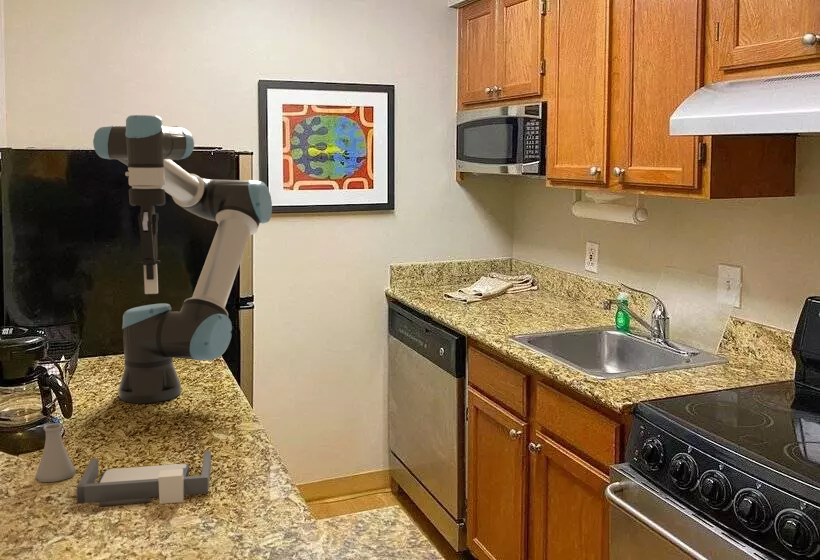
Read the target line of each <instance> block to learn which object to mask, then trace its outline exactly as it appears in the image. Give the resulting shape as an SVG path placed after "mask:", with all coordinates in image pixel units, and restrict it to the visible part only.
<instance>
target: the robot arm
mask: <svg viewBox="0 0 820 560" xmlns="http://www.w3.org/2000/svg"><path fill="white" fill-rule="evenodd" d="M93 135H94V137H93V140H92V141H93V142H92V143H93V144H92V145H93V149H94V151H95V153H96V155H98V157H99V158H101V159H106V160H109V161H110V160H111V161H112V160H118V161H119V162H121V163H122V164H124V165H125V166H127V170H128V171H125V174H124V175H125V176H126V177H128V185H129V187H130V188H129V189H128V197H129V198H128V200H129V201H128V202H129V205H130V206H133V207H140V213H139V214H137V221H138V227H139V235H140V238H139V239H140V247H141V262H139V265H140V266H143V282H144V284H143V285H144V294H145V295H156V294H159V280H158V279H159V277H158V276H159V275H158V264H161V260H160V259H159V260H158V258H159V255H158V231H159V229H158V227H159V226H158V221H159V213H158V212H156V207H157V206H159V207H160V206H164V205H165V204H166V193H167V194H168V195H169V196H171V198H172V200H173V201H174V203H175V204H176V205H178V206H179V207H180V208H182V209H183V210H185V211H187V212H189V213H191V214H193V215H195V216H197V217H199V218H202V219H204V220H205V219H206V220H208V221H212V222H216V223H217V224H218V226H217V229H216V231H215V234H214V236H213V240H212V242H211V245H210V247H209V250H208V253H207V255H206V258H205V262H204V265H203V267H202V270H201V272H200V275H199V277H198V279H197V282H196V283H197V284H196V286H195V288H194V291H193V294H192V295H191V296H192V297H189V298H186V299H185V300H184V301H183V303H182V306H181V308H180V310H179V311H175V310H174V311H172V307H171V304H169V303H154V304H146V305H141V306H136V307H132V308H130V309H127V310H126V311H124V313H123V315H122V327H121V329H122V335H123V338H122V339H123V354H124V356H123V358H124V370H123V373H122V376H121V380H120V383H119V387H118V396H119V397H118V398H119V399H120V400H121V401H123V402H126V403H131V404H152V403H153V404H155V403H159V402H160V403H161V402H165V401H168V400H171V399H175V398H177V397H179V396H180V395H181V393H182V386H181V385H182V383H181V381H180V378H179V375H178V373H177V371H176V368H175V366H174V360H173V358H174V359H185V360H194V361H198V362H200V361H214V360H216V359H218V358H221V356H222V355H223V354H224V353H225V352H226V350H227V349H228V347H229V345H230V342H231V339H232V330H233V325H232V324H233V323H232V321H231V319H230V318H229V312H228V310H227V309H226V305H227V303H228V301H229V300H228V299H229V297H230V294H231V291H232V288H233V285H234V281H235V279H236V276H237V273H238V270H239V267H240V265H241V262H242V259H243V256H244V253H245V249H246V246H247V244H248V241H249V238H250V236H252V235H254V234H256V233H257V231H258V228H259V227H260V224H266V223H268V222H270V220H271V217H272V212H273V203H272V202H273V201H272V196H271V192H270V189H269V188H268V186H267V184H266V183H265V182H263V181H260V180H252V179H248V180H243V179H242V180H241V179H240V180H239V179H212V178H211V179H209V178H204V177H200V176H199V175H197V174H196V173H189V172H188V171H186V169H183V168H182V167H181V166H180V165H178V164H177V163H176V162H174V161H180V160H184V159H186V158H189V156H191V154H192V153H193V152H194V149H195V140H194V138H193V137H194V136H193V135H192V133H191V132H190V131H189V130H187V129H186V128H184V127H179V126H177V125H175V126H170V125H169V126H166V125H165V126H164V124H163V120H162V118H161V117H160V116H159V115H150V114H149V115H146V114H145V115H144V114H142V115H141V114H137V115H135V114H132V115H129V116H127V117H126V119H125V125H124V126H123V125H122V126H121V125H120V126H119V125H118V126H117V125H111V126H101V127H99V128H97V130H96V131H95V132H94V134H93Z"/></svg>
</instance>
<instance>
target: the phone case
mask: <svg viewBox="0 0 820 560" xmlns="http://www.w3.org/2000/svg"><path fill="white" fill-rule="evenodd" d="M175 469H183V474H184V477H186V476H189V473H190V465H189V463H188V464H187V463H174V464H172V463H171V464H161V465H160V464H159V465H144V466H132V467H131V466H130V467H120V468H119V467H118V468H109V469H105V470H104V471H103V473H101V476H100V478H99V479H98V481H97V483H104V482H117V481H131V480H145V479H158V477H159V473H160V471H161V470H175Z"/></svg>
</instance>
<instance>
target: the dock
mask: <svg viewBox="0 0 820 560" xmlns="http://www.w3.org/2000/svg"><path fill="white" fill-rule="evenodd" d="M202 459H203V460H202V467H201V475H188V476H186V477H184V474H183V469H175V470H161V471H160V473H159V477H158V479H145V480H131V481H117V482H104V483H98V482H96V479H97V477H98V475H99V473H100V471H99V469H100V468H99V458H98V457H92V458H90V460H89V462H88V463H87V466H86V469H85V470H84V473H83V474H82V476H81V477H80V480H79V482H78V483H77V486H76V496H77V503H78V504H83V503H84V504H86V503H96V502H97V503H98V506H99V507H106V506H120V505H131V504H143V503H144V504H145V503H151V498H159V505H162V504H163V505H164V504H173V503H174V504H177V503H184V499H185V495H187V496H188V495H198V494H199V495H200V494H209V490H210V489H209V488H210V487H209V486H210V477H211V469H212V451H211V450H204V452H203V458H202Z"/></svg>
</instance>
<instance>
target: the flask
mask: <svg viewBox="0 0 820 560" xmlns="http://www.w3.org/2000/svg"><path fill="white" fill-rule="evenodd" d="M62 428H63V425H62V424H61V423H60V422H59V423H56V422H55V423H49V424H45V425H44V426H43V431H45V440H44V441H45V443H44V447H43V452H42V453H41V454H42V455H41V459H40V461H39V464H38V467H37V470H36V474H35V476H34V478H35V479H36V480H37V481H39V483H52V482H60V481H64V480H66V479H71V478H73V477H74V475H75V474H76V473H77V469H76V467H75V466H74V463H73V461H72V458H71V457H70V455H69V453H68V450H67V449H66V447H65V444H64V441H63V437H62V430H61V429H62Z"/></svg>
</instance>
